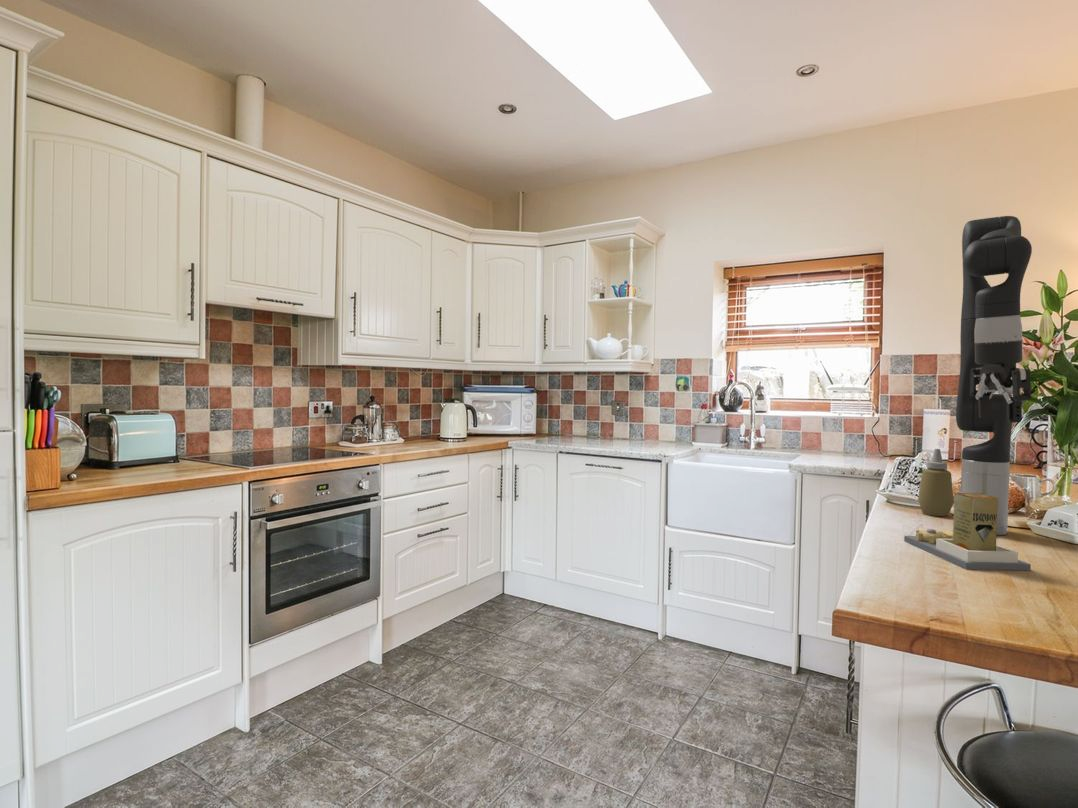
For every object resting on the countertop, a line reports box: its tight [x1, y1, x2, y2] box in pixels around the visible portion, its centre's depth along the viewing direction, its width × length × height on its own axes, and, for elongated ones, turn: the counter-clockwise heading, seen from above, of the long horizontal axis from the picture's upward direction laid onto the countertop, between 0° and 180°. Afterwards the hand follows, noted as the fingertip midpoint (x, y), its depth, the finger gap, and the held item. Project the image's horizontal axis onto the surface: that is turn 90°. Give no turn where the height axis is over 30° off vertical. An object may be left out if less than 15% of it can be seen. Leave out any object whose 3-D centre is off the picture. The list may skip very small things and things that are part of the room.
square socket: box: [936, 538, 1019, 563], centre depth 116 cm, size 9×9×2 cm
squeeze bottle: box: [917, 448, 954, 517], centre depth 159 cm, size 8×8×18 cm
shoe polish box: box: [952, 492, 998, 551], centre depth 116 cm, size 5×5×12 cm
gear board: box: [903, 528, 1032, 571], centre depth 121 cm, size 20×12×4 cm, turn 178°
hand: (999, 419), depth 118 cm, fingers open, 8 cm apart
